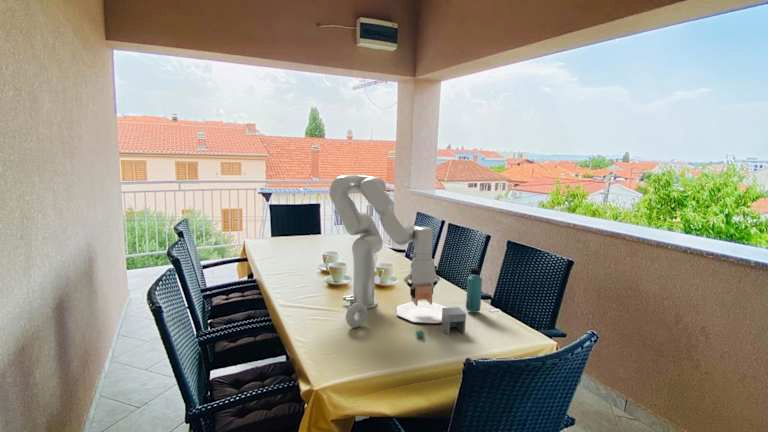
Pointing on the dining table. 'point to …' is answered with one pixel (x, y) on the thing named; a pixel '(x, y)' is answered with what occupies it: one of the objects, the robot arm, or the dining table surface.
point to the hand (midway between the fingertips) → (421, 296)
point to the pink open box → (422, 293)
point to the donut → (352, 312)
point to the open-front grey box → (453, 319)
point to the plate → (421, 312)
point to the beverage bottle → (474, 291)
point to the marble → (419, 333)
